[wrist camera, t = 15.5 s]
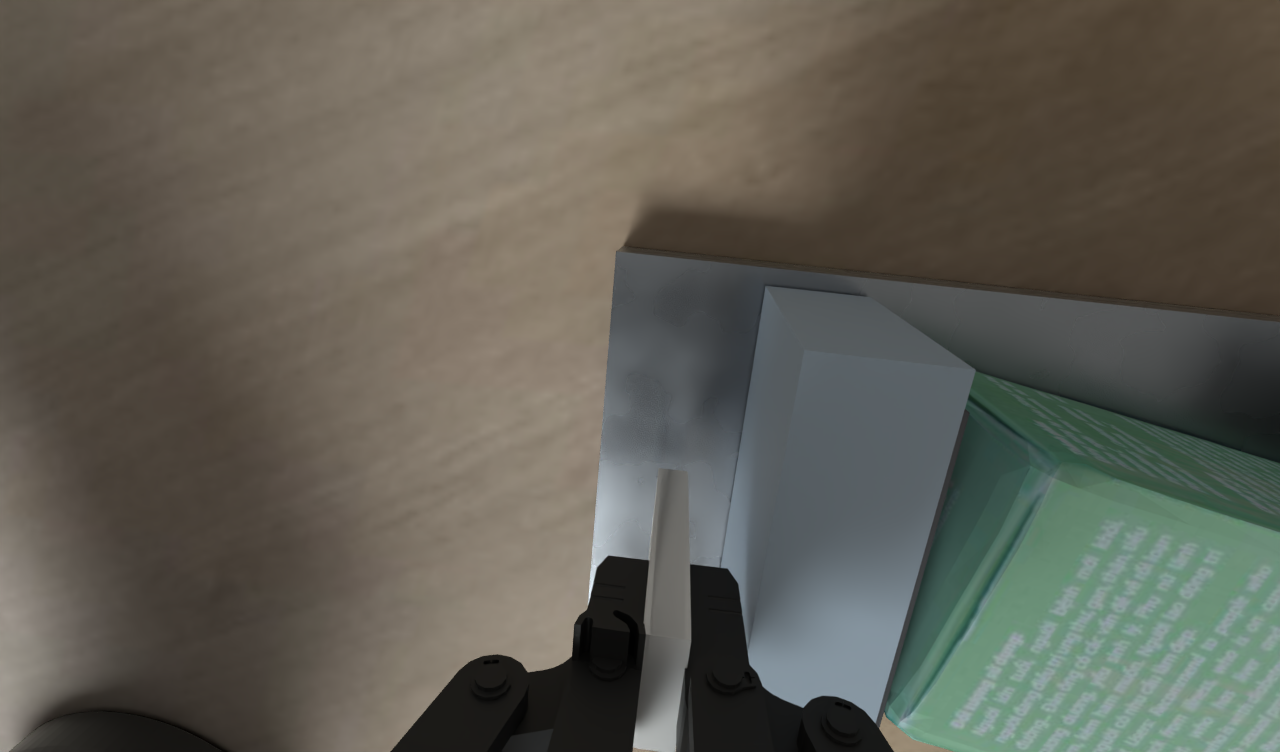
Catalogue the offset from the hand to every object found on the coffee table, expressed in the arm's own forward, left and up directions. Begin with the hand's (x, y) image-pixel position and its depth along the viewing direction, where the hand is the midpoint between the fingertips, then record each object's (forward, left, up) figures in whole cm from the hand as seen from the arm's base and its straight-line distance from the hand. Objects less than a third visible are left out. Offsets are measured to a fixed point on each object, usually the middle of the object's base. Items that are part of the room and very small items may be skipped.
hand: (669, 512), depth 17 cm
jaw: (+4, 0, -2) cm, 4 cm away
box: (+12, 0, -3) cm, 13 cm away
